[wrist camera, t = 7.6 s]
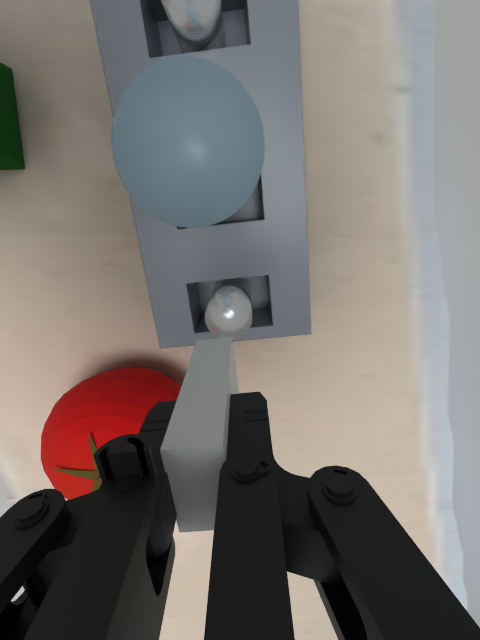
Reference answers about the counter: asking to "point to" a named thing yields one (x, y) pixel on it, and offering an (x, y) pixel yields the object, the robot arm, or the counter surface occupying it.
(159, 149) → the cartridge
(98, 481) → the tomato
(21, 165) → the milk carton
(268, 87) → the housing
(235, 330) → the plunger
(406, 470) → the counter surface
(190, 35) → the plunger
